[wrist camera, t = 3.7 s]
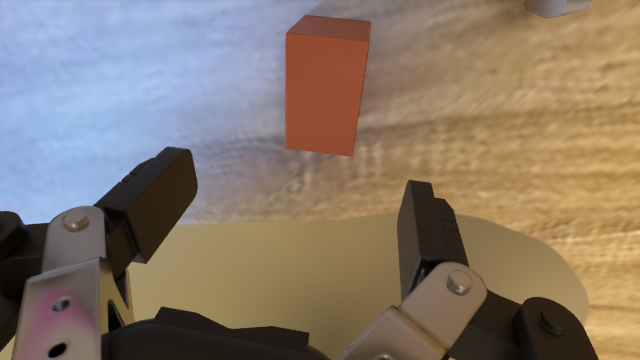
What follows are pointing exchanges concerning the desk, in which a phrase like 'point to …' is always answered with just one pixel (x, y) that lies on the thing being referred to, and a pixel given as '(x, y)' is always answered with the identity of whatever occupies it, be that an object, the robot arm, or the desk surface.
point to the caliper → (556, 7)
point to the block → (324, 83)
